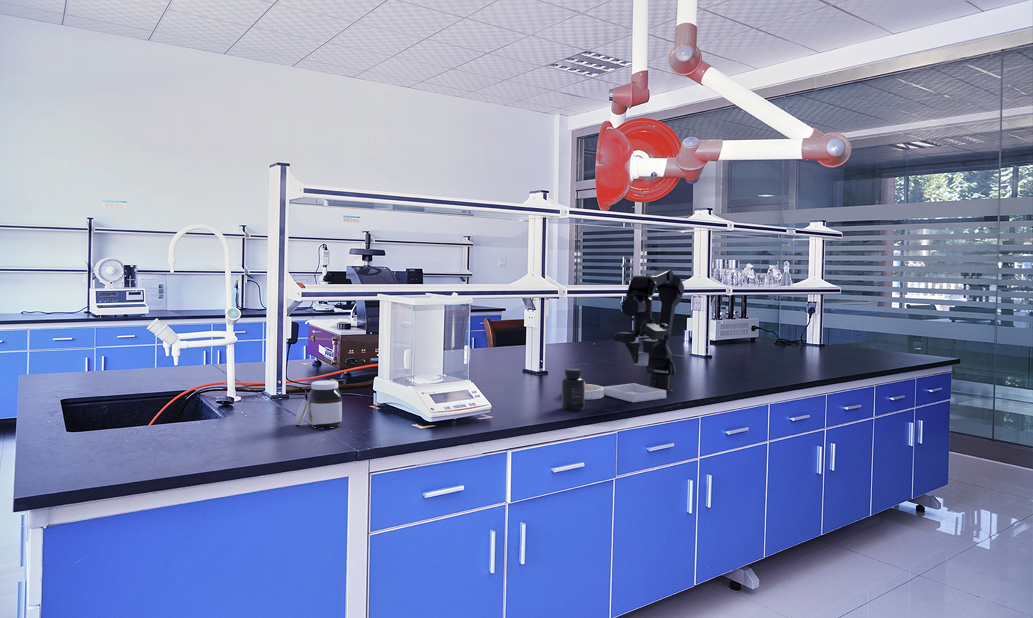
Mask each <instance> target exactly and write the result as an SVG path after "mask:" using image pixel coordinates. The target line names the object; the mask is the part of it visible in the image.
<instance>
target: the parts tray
mask: <svg viewBox="0 0 1033 618" xmlns="http://www.w3.org/2000/svg"><path fill="white" fill-rule="evenodd" d="M602 387H603V388H604V396H606V397H607V396H608V397H612V398H615V399H618V400H619V399H620V400H621V401H626V402H631V403H639V402H647V401H654V400H655V401H656V400H663V399H667V392H666V390H661V389H657V388H653V387H650V386H648V385H643V384H639V383H625V384H618V385H617V384H616V385H608V386H602Z"/></svg>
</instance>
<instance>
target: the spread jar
mask: <svg viewBox="0 0 1033 618" xmlns="http://www.w3.org/2000/svg"><path fill="white" fill-rule="evenodd" d="M310 384H311V385H310V387H311V390H310V391H309V394H308V399H307V400H304V399H303V400H302V401H301V403H300V405H299V407H298V410H297V413H296V416H295V419H294V422H293V425H294V426H296V425H300V423H301V422H303V420H304V418H305V416H306V413H307V410H308V417H307V418H308V423H309V425H311V426H313V427H316V428H330V427H336V426H338V427H339V426H340V425H341V424H342V420H343V416H342V415H343V409H342V408H343V405H342V403H343V401H342V400H343V399H342V396H341V393H340V390H339V382H338V381H337V380H330V379H329V380H326V379H324V380H315V381H312V382H311V383H310ZM301 424H302V423H301ZM300 426H301V425H300ZM311 426H310V427H311ZM336 428H337V427H336Z"/></svg>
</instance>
